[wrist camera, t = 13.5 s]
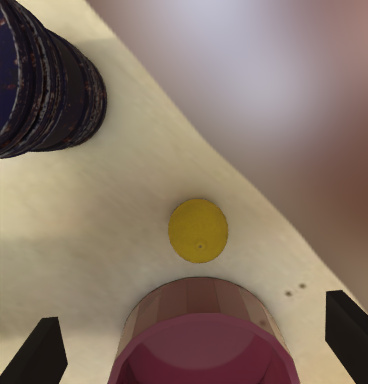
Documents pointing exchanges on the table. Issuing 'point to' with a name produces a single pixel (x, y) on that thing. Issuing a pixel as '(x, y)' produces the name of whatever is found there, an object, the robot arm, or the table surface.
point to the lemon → (198, 231)
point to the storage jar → (44, 87)
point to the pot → (202, 338)
